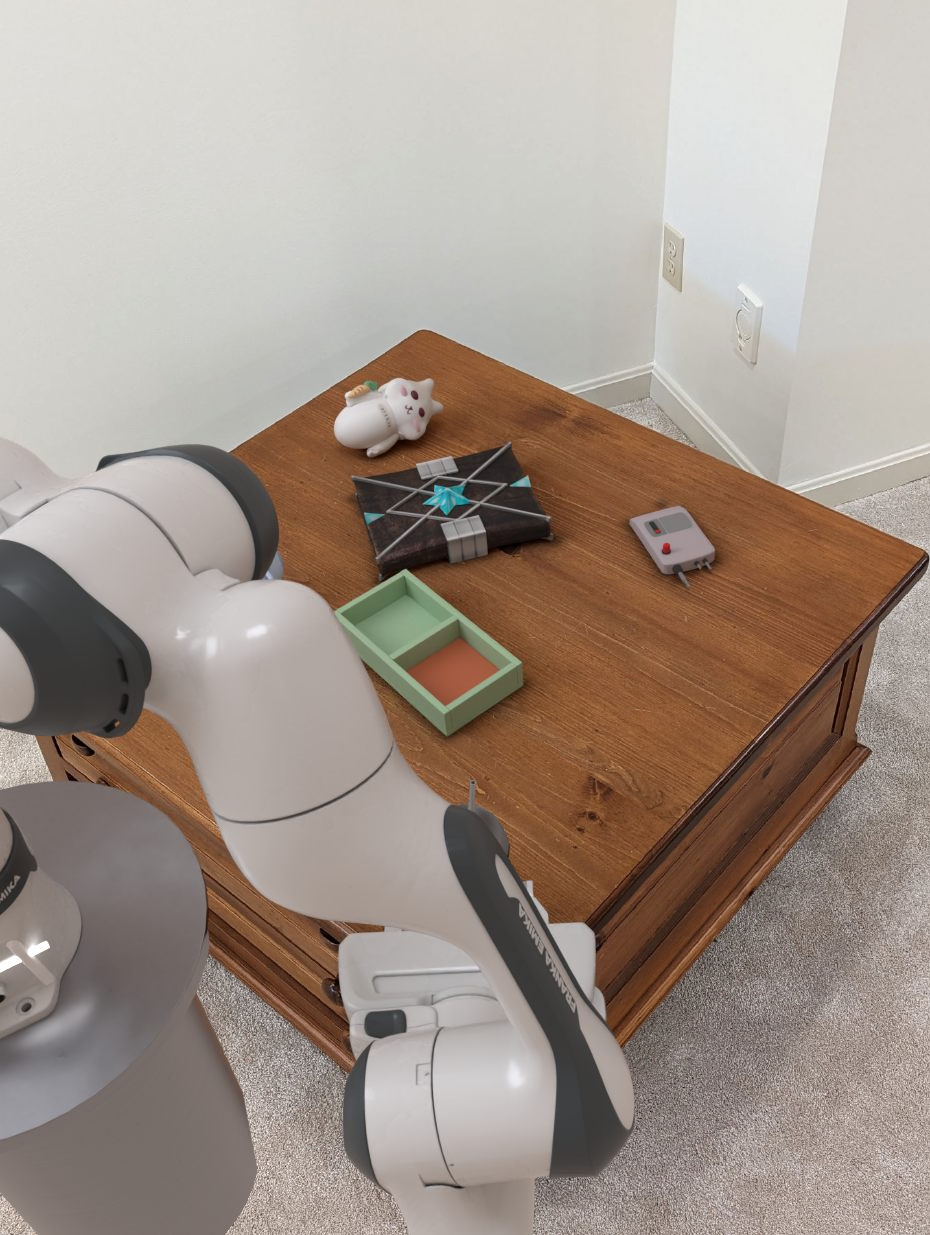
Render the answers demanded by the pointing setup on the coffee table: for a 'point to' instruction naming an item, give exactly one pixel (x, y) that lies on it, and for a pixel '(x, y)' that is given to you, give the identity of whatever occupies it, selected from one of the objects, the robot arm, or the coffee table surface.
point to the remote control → (674, 541)
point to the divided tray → (429, 651)
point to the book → (449, 509)
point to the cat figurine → (385, 414)
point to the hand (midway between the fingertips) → (466, 887)
